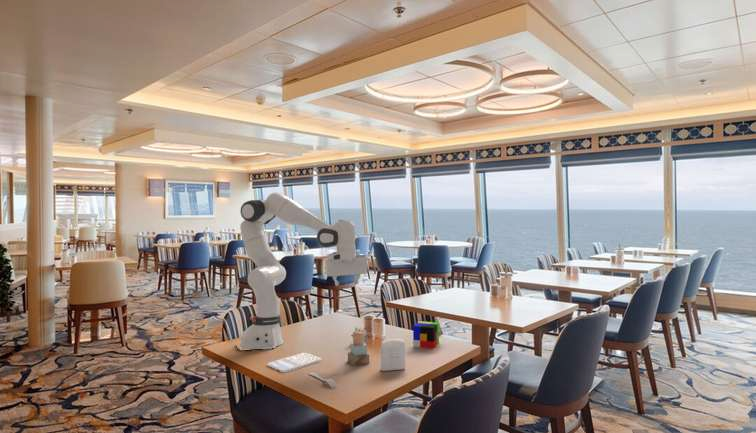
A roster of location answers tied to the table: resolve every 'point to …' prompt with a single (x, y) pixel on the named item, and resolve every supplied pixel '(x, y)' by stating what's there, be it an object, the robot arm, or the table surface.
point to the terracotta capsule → (358, 338)
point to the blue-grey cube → (359, 349)
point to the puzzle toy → (425, 334)
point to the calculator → (294, 362)
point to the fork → (324, 380)
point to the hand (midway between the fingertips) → (346, 284)
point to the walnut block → (358, 359)
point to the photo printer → (392, 354)
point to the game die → (364, 333)
